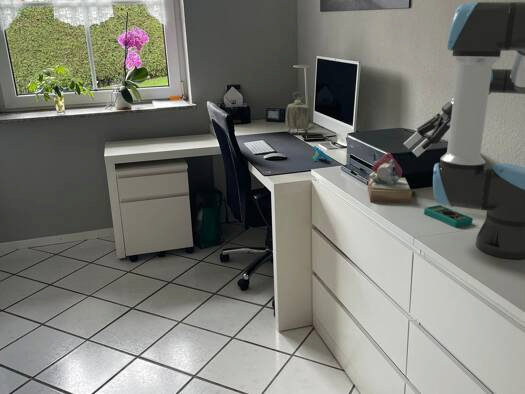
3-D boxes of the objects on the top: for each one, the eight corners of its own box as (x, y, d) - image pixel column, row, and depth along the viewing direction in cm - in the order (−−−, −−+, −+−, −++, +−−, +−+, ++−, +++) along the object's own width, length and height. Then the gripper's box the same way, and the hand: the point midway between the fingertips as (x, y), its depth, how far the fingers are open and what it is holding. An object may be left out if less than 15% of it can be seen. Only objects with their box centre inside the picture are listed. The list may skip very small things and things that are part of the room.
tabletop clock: (309, 132, 308) (310, 91, 301) (309, 135, 300) (310, 93, 292) (285, 132, 310) (286, 91, 302) (285, 135, 301) (285, 92, 293)
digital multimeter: (456, 229, 156) (457, 220, 155) (422, 215, 168) (423, 206, 167) (473, 226, 159) (475, 217, 158) (439, 211, 171) (440, 203, 170)
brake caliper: (407, 174, 187) (403, 152, 179) (398, 197, 183) (393, 176, 174) (378, 170, 194) (373, 149, 185) (368, 192, 189) (362, 171, 180)
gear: (333, 160, 234) (318, 145, 232) (324, 169, 234) (309, 154, 232) (326, 157, 245) (312, 143, 242) (318, 166, 245) (304, 152, 243)
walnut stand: (410, 204, 178) (412, 190, 176) (370, 202, 180) (371, 188, 178) (404, 189, 195) (405, 177, 193) (367, 187, 197) (368, 175, 195)
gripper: (476, 121, 165) (425, 165, 171) (452, 111, 189) (409, 150, 194) (461, 105, 164) (411, 150, 169) (440, 97, 188) (396, 136, 193)
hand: (410, 150), depth 182 cm, fingers open, 13 cm apart
